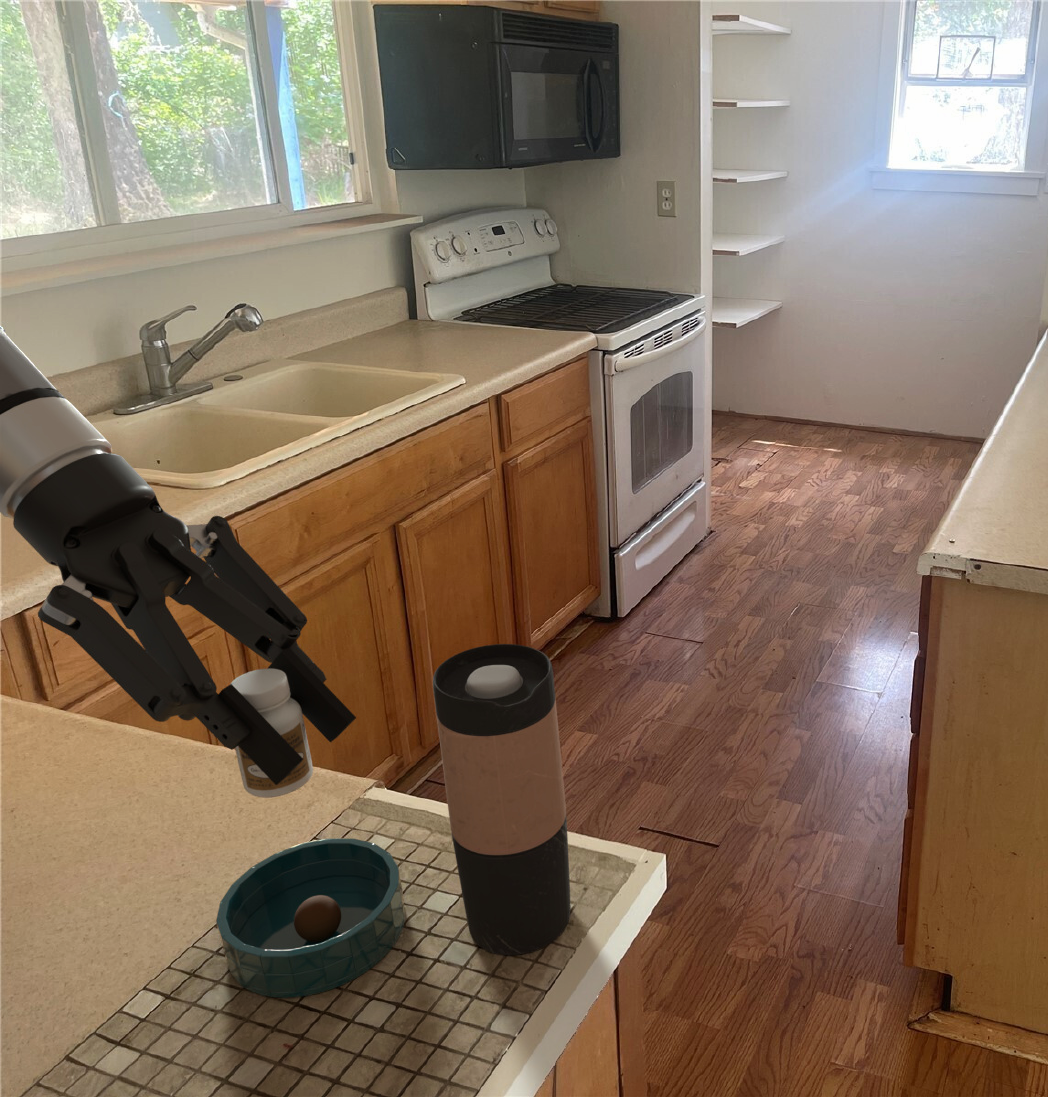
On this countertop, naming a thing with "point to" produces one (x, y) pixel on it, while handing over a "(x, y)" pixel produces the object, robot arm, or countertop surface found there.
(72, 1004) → the countertop surface
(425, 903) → the countertop surface
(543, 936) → the travel mug
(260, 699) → the pill bottle
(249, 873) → the bowl
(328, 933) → the brown ball
